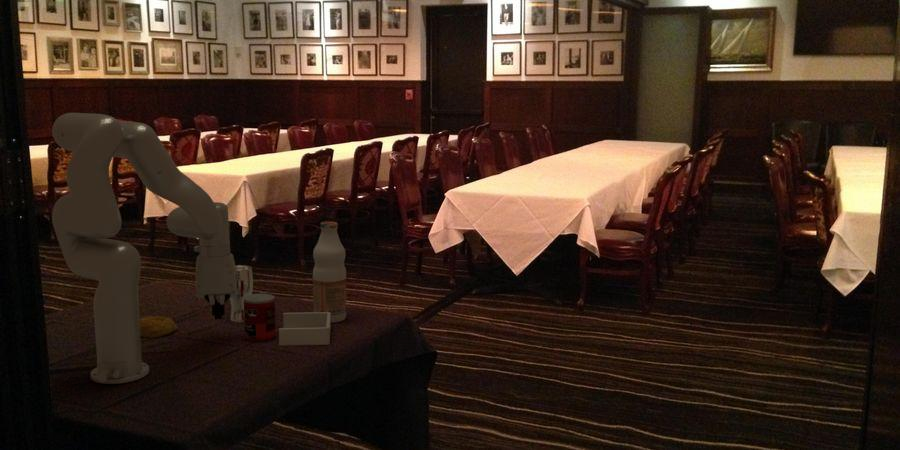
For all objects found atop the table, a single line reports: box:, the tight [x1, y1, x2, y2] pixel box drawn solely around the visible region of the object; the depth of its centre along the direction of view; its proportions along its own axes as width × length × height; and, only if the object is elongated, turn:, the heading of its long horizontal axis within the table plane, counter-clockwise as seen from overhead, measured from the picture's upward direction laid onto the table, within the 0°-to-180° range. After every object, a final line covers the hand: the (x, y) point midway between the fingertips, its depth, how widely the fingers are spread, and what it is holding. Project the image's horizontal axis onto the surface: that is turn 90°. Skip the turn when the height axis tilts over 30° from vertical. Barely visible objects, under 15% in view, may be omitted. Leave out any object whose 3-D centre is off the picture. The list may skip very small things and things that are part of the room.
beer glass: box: [229, 265, 254, 323], centre depth 232 cm, size 7×7×15 cm
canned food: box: [243, 293, 276, 342], centre depth 217 cm, size 8×8×11 cm
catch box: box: [278, 311, 332, 347], centre depth 219 cm, size 15×13×4 cm
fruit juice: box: [312, 221, 347, 324], centre depth 233 cm, size 9×9×28 cm
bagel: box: [139, 315, 178, 339], centre depth 220 cm, size 10×11×5 cm
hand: (218, 317), depth 216 cm, fingers closed
